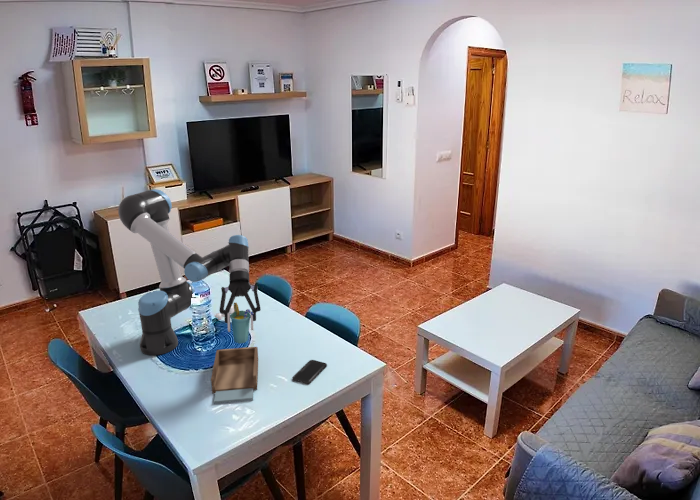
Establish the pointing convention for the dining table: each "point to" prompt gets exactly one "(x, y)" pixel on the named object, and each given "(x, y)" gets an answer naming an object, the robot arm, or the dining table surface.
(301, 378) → the phone
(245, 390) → the panel
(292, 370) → the dining table surface
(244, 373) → the tray
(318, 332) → the dining table surface
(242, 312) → the cup
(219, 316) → the game pieces
